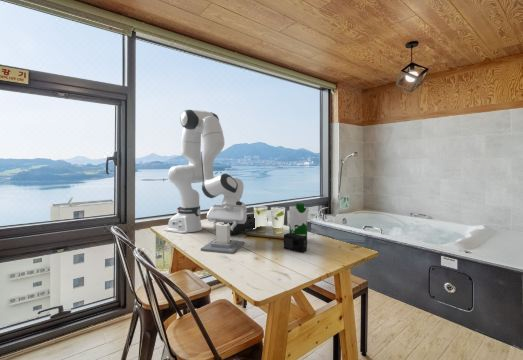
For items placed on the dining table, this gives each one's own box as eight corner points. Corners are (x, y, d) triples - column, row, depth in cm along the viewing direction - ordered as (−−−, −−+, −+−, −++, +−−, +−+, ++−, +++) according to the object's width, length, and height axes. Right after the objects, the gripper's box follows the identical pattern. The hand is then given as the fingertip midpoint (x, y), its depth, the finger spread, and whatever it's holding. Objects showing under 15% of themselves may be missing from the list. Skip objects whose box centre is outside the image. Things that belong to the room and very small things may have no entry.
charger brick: (216, 245, 133) (216, 224, 132) (219, 243, 137) (219, 222, 136) (226, 246, 132) (226, 225, 131) (230, 244, 136) (229, 223, 135)
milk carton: (293, 244, 139) (293, 205, 137) (287, 239, 147) (287, 202, 146) (309, 243, 141) (310, 204, 139) (302, 238, 150) (302, 201, 148)
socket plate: (200, 250, 129) (200, 245, 129) (215, 240, 144) (215, 236, 144) (232, 253, 125) (232, 248, 125) (244, 243, 140) (244, 238, 140)
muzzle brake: (223, 234, 157) (223, 216, 156) (257, 225, 177) (257, 209, 176) (234, 237, 151) (234, 219, 150) (268, 228, 171) (268, 212, 170)
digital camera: (281, 249, 131) (281, 235, 131) (287, 246, 135) (288, 232, 135) (301, 254, 125) (301, 239, 124) (306, 251, 129) (307, 236, 129)
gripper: (209, 201, 142) (200, 224, 134) (247, 203, 137) (240, 227, 128) (213, 208, 147) (205, 231, 138) (249, 210, 142) (243, 234, 133)
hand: (222, 229), depth 133 cm, fingers open, 7 cm apart
